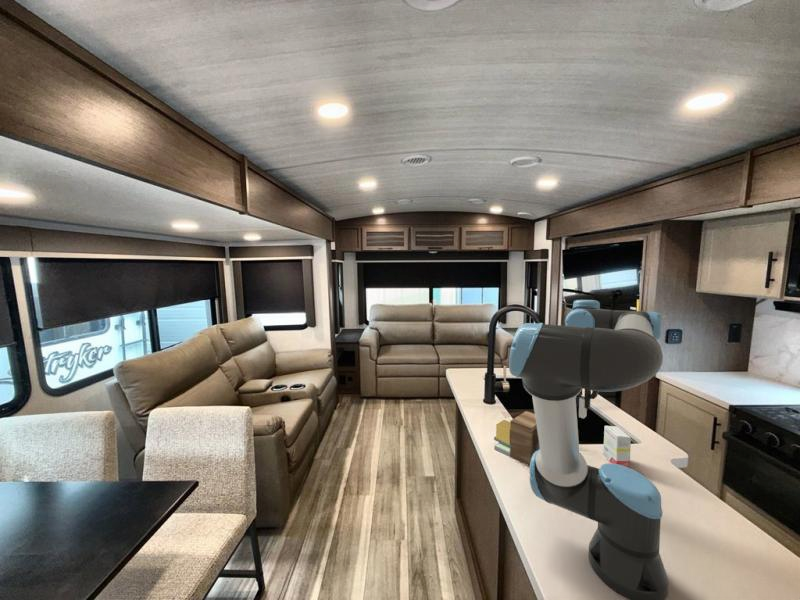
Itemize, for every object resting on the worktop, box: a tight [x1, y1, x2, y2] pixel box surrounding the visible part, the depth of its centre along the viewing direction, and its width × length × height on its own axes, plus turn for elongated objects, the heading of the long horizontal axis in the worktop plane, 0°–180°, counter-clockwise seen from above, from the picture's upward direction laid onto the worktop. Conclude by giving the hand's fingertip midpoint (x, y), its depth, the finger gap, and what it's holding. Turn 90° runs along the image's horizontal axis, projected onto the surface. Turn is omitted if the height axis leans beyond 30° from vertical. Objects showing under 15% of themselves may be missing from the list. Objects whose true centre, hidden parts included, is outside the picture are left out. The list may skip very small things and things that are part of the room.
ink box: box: [602, 425, 632, 469], centre depth 114 cm, size 9×5×12 cm, turn 175°
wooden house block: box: [509, 410, 539, 467], centre depth 119 cm, size 12×8×14 cm, turn 131°
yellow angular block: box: [493, 419, 540, 454], centre depth 122 cm, size 6×20×7 cm, turn 41°
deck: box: [493, 442, 510, 457], centre depth 120 cm, size 12×22×2 cm, turn 41°
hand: (582, 416), depth 103 cm, fingers closed
